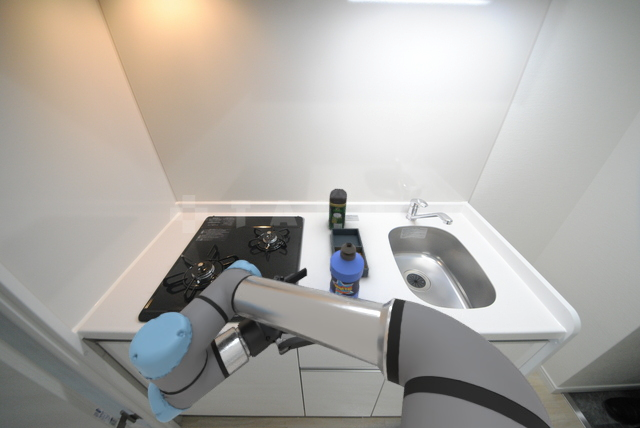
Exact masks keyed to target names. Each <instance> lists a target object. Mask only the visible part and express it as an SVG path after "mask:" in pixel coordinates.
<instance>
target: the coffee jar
mask: <svg viewBox="0 0 640 428" xmlns="http://www.w3.org/2000/svg"><path fill="white" fill-rule="evenodd" d="M347 201H348V193H347V191H346V190H344V189H343V188H334V189H332V190H331V191H330V193H329V199H328V228H329V229H330V230H331V228H345V225H346V212H347V203H348V202H347Z"/></svg>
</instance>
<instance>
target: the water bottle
mask: <svg viewBox="0 0 640 428" xmlns="http://www.w3.org/2000/svg"><path fill="white" fill-rule="evenodd" d="M329 259H330V261H329V271H330V280H329V291H328V292H333V293H337V294H342V295H346V296H351V297H356V298H359V294H360V289H361V288H360V280H361V278H362V277H361V276H362V274H363V269H364V260H363V258H362V256H361V255H360V254H358V253H357V252H356V247H355V246H354V245H353V244H351V243H346V244H343V245H342V247H341V250H339V251H337V252H335V253H334V254H332V255H331V256H330V258H329Z"/></svg>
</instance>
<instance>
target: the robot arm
mask: <svg viewBox="0 0 640 428" xmlns="http://www.w3.org/2000/svg"><path fill="white" fill-rule="evenodd" d="M307 276H308V269H307V267H304V268H302V269H300V270H299V271H297V272H296V273H294V272H292V273H290V274H288V275H287V276H283V275H281V276H280V275H279V274H276V275H274V276H273V278H268V277H264V276H262V273H261V271H260V270H259V268H258V267H257V266H256V265H254V264H253V263H250V262H249V261H247V260H245V259H239V260H236V261H234V262H233V263H232V264H231V265H230V266H228V267H227V268H226V269H224V270H222V272H221V273H220V274H219V276H217V277H216V278H215V279H214V280H213V281H212V282H211V283H210V284H208V286H207V287H205V289H203V291H201V292H200V293H199V294H198V295H197V296H196V297H194V298H193V299H192V300H191V301H190V302H189V303H188V304H187V305H186V306H185V307H184V308H183V309H181V311H179V312H176V311H169V312H164V313H161V314H160V315H159V316H157V317H155V318H152V319H149V321H147V322H146V323H144V324H143V325H142V326H141V327H140V328H139V329H138V331H137V332H136V334H134V336H133V338H132V339H131V342H130V345H129V348H128V357H129V361H130V362H131V364H132V365H133V366H134V367H135V369H136V370H137V371H138V373H139V374H140V375H141V376H142V377H143V378H144V379H146V380H148V381H149V383H148V388H147V398H148V403H149V406H150V407H149V408H150V409H151V412H152V414H153V415H155V418H156V420H157V421H159V422H160V423H168V422H171V421H172V420H173V419H175V418H176V417H178V416H179V415H180V414H182V413H183V412H186V411H188V410H189V409H191V407H192V406H194V404H196V403H197V402H198V401H200V400H201V399H202V398H203V397H205V396H206V395H207V394H208V393H210V392H211V391H212V390H214V389H215V388H217V386H219V385H220V384H222V382H224V381H225V380H226V379H228V378H229V377H231V376H232V375H233V374H235V373H236V372H237V371H239V370H240V369H242V368H243V367H244V366H245V365H247V364H248V363H249V362H250V358H251V357H252V358H256V357H257V356H258V355H260V354H261V353H262V352H264V351H265V350H266V349H268V348H269V347H270V346H271V345H272V344H275V345H276V347H277V351H278V355H280V356H282V355H284V354H285V355H286V354H287V353H288V352H290V351H291V350H295V349H299V348H303V347H307V346H311V345H318V346H321V347H323V348H327V349H329V350H332V351H335V352H337V353H340V354H343V355H346V356H347V357H351V358H352V359H353V358H354V359H357V360H359V361H361V362H364V363H367V364H370V365H372V366H375V367H377V368H378V369H379V371H380V372H381V375H382V376H383V378H384V380H385V381H388V382H390V383H393V384H396V385H398V386H400V387H402V388H403V395H402V396H403V397H402V402H401V403H402V404H401V414H400V423H399V424H400V425H399V428H555V426H554V424H553V422H552V419H551V417H550V414H549V413H548V410H547V407H546V406H545V404H544V402H543V401H542V399H541V397H540V396H539V395H538V392H537V391H536V390H535V388H534V386H533V385H532V384H531V382H530V381H529V380H528V378H527V377H526V376H525V375H524V374H523V373H522V371H521V370H520V369H519V368H518V366H516V365H515V364H514V362H513V361H512V360H511V359H510V358H509V357H508V356H507V355H505V353H504V352H502V351H501V350H500V349H499V348H498V347H497V346H496V345H494V344H493V343H492V342H490V341H489V340H488V339H487V338H486V337H484V336H483V335H482V334H481V333H479V332H477V331H475V330H474V329H473V328H471V327H469V326H468V325H466V324H465V323H463V322H461V321H459V320H458V319H456V318H454V317H452V316H451V315H448V314H447V313H444V312H442V311H440V310H438V309H436V308H433V307H430V306H428V305H425V304H421V303H419V302H415V301H410V300H406V299H402V298H396V297H392V298H391V299H390V300H388V301H387V302H385V303H383V302H379V301H374V300H373V301H372V300H369V299H365V298H359V297H358V298H356V297H351V296H346V295H342V294H337V293H333V292H329V291H327V290H324V289H319V288H315V287H309V286H304V285H301V284H296V283H298V282H299V281H301V280H303V279H304V278H306V277H307ZM235 315H236V316H240V317H243V318H244V319H243V320H241V321H239V322H238V324H237V327H235V326H232V327H230V328H228V329H227V330H226V331H223V332H222V333H221V331H222V330H223V329H224V328H225V326H227V325H228V323H229V322H230V321H231V319H232V318H233V317H234V316H235ZM220 333H221V334H220ZM283 335H291V336H292V337H289V338H287V339H286V338H282V336H283Z"/></svg>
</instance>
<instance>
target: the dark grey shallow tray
mask: <svg viewBox="0 0 640 428" xmlns="http://www.w3.org/2000/svg"><path fill="white" fill-rule="evenodd" d="M330 240H331V241H330V242H331V252H332V255H333V254H334V253H335V252H337V251H339V250H341V247H342V245H343V244H346V243H351V244H353V245H354V246H355V247H356V252H357V253H358V254H360V255H361V256H362V258H363V260H364V269H363V274H362V276H361V278H368V277H369V272H370V268H369V264H368V261H367V256H366V252H365V249H364V245H363V241H362V237H361V233H360V229H359V228H356V227H353V228H352V227H351V228H349V227H346V228H345V227H344V228H331V229H330Z"/></svg>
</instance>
